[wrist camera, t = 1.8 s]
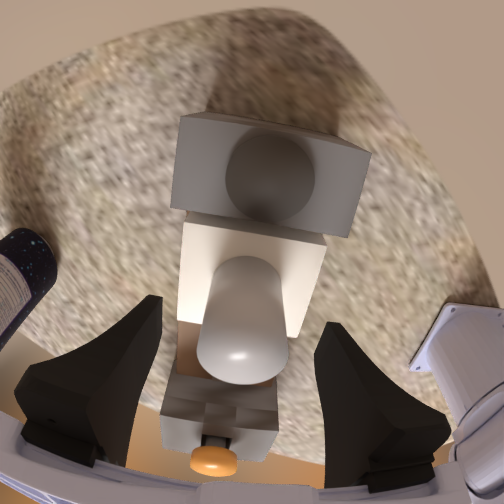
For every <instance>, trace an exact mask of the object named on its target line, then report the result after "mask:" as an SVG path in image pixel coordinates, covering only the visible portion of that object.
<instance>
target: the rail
mask: <svg viewBox="0 0 504 504" xmlns="http://www.w3.org/2000/svg"><path fill="white" fill-rule="evenodd" d="M371 155H372V153H370V152H368V151H366V150H364V149H362V148H360V147H358V146H356V145H354V144H352V143H350V142H348V141H346V140H344V139H342V138H339V137H337V136H333V135H329V134H325V133H320V132H316V131H312V130H307V129H303V128H298V127H294V126H289V125H284V124H279V123H274V122H268V121H263V120H257V119H252V118H246V117H239V116H233V115H226V114H219V113H212V112H199V113H194V114H189V115H184V116H181V118H180V125H179V132H178V140H177V148H176V156H175V165H174V174H173V183H172V194H171V205H170V208H175V209H182V210H187V215H186V218H187V216H188V214H189V212H190V211H195V212H201V213H207V214H213V215H220V216H226V217H232V218H238V219H244V220H250V221H256V222H261V223H267V224H273V225H279V226H284V227H290V228H296V229H301V230H307V231H312V232H317V233H323V234H328V235H333V236H339V237H344V238H348V235H349V232H350V229H351V226H352V222H353V219H354V216H355V212H356V209H357V206H358V202H359V199H360V195H361V192H362V188H363V185H364V181H365V177H366V174H367V170H368V166H369V162H370V159H371ZM201 326H202V324H197V323H192V322H186V321H180V320H178V341H177V360H174V362H173V366H172V369H171V373H170V377H169V380H168V384H167V388H166V392H165V396H164V400H163V403H162V407H161V411H160V426H161V436H162V447H163V448H164V449H169V450H173V451H179V452H184V453H190V454H192V451H193V449H195V448H197V447H201V446H205V445H206V437H207V435H212V436H219V437H226V445H225V448H226V449H229V450H231V451H233V452H234V453H235V454H236V455H237V460H244V461H256V462H263V461H264V459H265V457H266V455H267V453H268V452H269V450H270V448H271V446H272V444H273V442H274V440H275V438H276V436H277V434H278V432H279V423H278V402H277V383H276V376H274V377H273V378H271V379H269V380H266V381H264V382H260V383H256V384H234V383H229V382H225V381H222V380H220V379H218V378H216V377H214V376H212V375H211V374H210V373H208V372H207V371H206V370H205V369H204V368H203V367H202V365H201V364H200V362H199V360H198V357H197V345H198V340H199V335H200V331H201ZM287 340H288V337H287Z"/></svg>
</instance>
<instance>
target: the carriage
mask: <svg viewBox="0 0 504 504" xmlns="http://www.w3.org/2000/svg"><path fill="white" fill-rule="evenodd" d="M326 249H327V245H326V242H325V240H324V238H323V236H322V233H317V232H312V231H307V230H301V229H296V228H290V227H284V226H279V225H273V224H267V223H261V222H256V221H250V220H244V219H238V218H232V217H226V216H220V215H213V214H207V213H201V212H195V211H190V212H189V214H188V216H187V218H186V219H185V221H184V227H183V238H182V249H181V262H180V275H179V291H178V308H177V320H180V321H186V322H192V323H197V324H202V326H201V331H200V335H199V340H198V345H197V357H198V360H199V362H200V364H201V365H202V367H203V368H204V369H205V370H206V371H207V372H208V373H210V374H211V375H212V376H214V377H216V378H218V379H220V380H222V381H225V382H229V383H234V384H256V383H260V382H264V381H266V380H269V379H271V378H273V377H274V376H276V375H277V374H278V373H280V372H281V371H282V369H283V368H284V367H285V365H286V363H287V361H288V357H289V350H288V341H287V337H294V338H297V337H298V334H299V331H300V329H301V326H302V323H303V320H304V317H305V314H306V311H307V308H308V305H309V302H310V299H311V296H312V293H313V290H314V287H315V284H316V281H317V278H318V275H319V272H320V268H321V265H322V262H323V259H324V255H325V252H326Z"/></svg>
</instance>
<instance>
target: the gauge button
mask: <svg viewBox="0 0 504 504" xmlns="http://www.w3.org/2000/svg"><path fill="white" fill-rule="evenodd" d="M225 445H226V437H219V436H212V435H207V437H206V445H205V446H201V447H197V448H195V449H193V451H192V454H191V461H190V467H191V468H192V469H193V470H194V471H197V472H198V473H201V474H205V475H209V476H228V475H232V474H234V473H235V472H236V471H237V455H236V454H235V453H234V452H233V451H231V450H229V449H226V448H225Z"/></svg>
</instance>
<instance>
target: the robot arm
mask: <svg viewBox="0 0 504 504" xmlns="http://www.w3.org/2000/svg"><path fill="white" fill-rule="evenodd" d="M162 302H163V297H160V296H155V295H148V296H146V297H145V298H144V299H143V300H142V301H141V302H140V303H139V304H138V305H137V306H136V307H135V308H133V309H132V310H131V311H130V312H129V313H128V314H127V315H126V316H124V317H123V318H122V319H121V320H120V321H118V322H117V323H116V324H115V325H113V326H112V327H111V328H109V329H108V330H107V331H105V332H104V333H103V334H101V335H100V336H98V337H97V338H95V339H93V340H92V341H90V342H89V343H87V344H85V345H83V346H81V347H79V348H77V349H75V350H73V351H71V352H69V353H66V354H64V355H61V356H59V357H56V358H54V359H51V360H47V361H44V362H40V363H37V364H33V365H30V366H29V367H28V369H27V370H26V371H25V373H24V375H23V376H22V378H21V380H20V381H19V383H18V385H17V387H16V388H15V390H14V395H15V397H16V400H17V402H18V404H19V405H20V407H21V409H22V411H23V412H24V414H25V415H26V417H27V421H26V423H25V425H24V424H23V423H21V422H20V421H18V420H17V419H15V418H13V417H11V416H9V415H7V414H5V413H4V412H2V411H0V481H1V482H2V483H4V484H6V485H8V486H9V487H11V488H13V489H15V490H16V491H18V492H20V493H22V494H24V495H26V496H28V497H29V498H31V499H33V500H35V501H37V502H39V503H41V504H504V309H501V308H492V307H484V306H475V305H467V304H459V303H446V304H445V305H444V307H443V309H442V310H441V312H440V314H439V316H438V318H437V320H436V322H435V323H434V325H433V327H432V329H431V330H430V332H429V334H428V336H427V337H426V339H425V341H424V342H423V344H422V346H421V347H420V349H419V351H418V352H417V354H416V356H415V357H414V359H413V360H412V362H411V364H410V365H409V370H410V371H432V373H433V375H434V377H435V379H436V381H437V384H438V386H439V388H440V390H441V392H442V394H443V396H444V398H445V400H446V403H447V405H448V407H449V409H450V411H451V414H452V416H453V418H454V421H455V423H456V425H457V427H458V428H457V429H456V430H455V431H454V432H453V433H452V436H453V438H454V441H455V444H453V446H452V447H451V449H450V452H449V461H448V463H446V464H442V465H439V466H437V467H434V468H433V467H432V464H431V463H432V462H433V461H434V460H435V459H434V456H433V453H434V452H435V451H436V450H437V449H438V448H439V447H441V446H442V445H443V444H444V443H445V442H446V440H447V439H448V438H449V436H450V434H451V427H450V425H449V423H448V420H447V418H446V416H445V414H443V413H441V412H439V411H437V410H435V409H433V408H431V407H429V406H427V405H425V404H424V403H422V402H420V401H419V400H417V399H416V398H414V397H413V396H411V395H410V394H408V393H407V392H405V391H404V390H403V389H401V388H400V387H399V386H398V385H396V384H395V383H394V382H393V381H392V380H391V379H389V378H388V377H387V376H386V375H385V374H384V373H383V372H382V371H381V370H380V369H379V368H378V367H377V366H376V365H375V364H374V363H373V362H372V361H371V360H370V359H369V357H368V356H367V355H366V354H365V353H364V352H363V350H362V349H361V348H360V347H359V346H358V344H357V343H356V342H355V341H354V339H353V338H352V337H351V336H350V334H349V333H348V332H347V331H346V330H345V328H344V327H343V326H342V325H341V324H340V323H336V322H327V323H326V326H325V328H324V331H323V333H322V336H321V338H320V341H319V343H318V345H317V348H316V350H315V353H314V367H315V376H316V382H317V387H318V392H319V397H320V402H321V407H322V412H323V419H324V431H325V483H324V489H315V488H313V487H311V486H309V485H296V484H292V485H290V484H289V485H288V484H287V485H286V484H282V485H281V484H257V483H256V484H255V483H242V482H231V481H213V482H206V483H196V482H189V481H183V480H178V479H172V478H167V477H162V476H157V475H152V474H148V473H144V472H140V471H136V470H131V469H128V468H125V465H126V459H127V452H128V447H129V442H130V436H131V432H132V427H133V422H134V418H135V413H136V409H137V406H138V401H139V398H140V395H141V392H142V389H143V386H144V384H145V381H146V379H147V376H148V374H149V371H150V369H151V366H152V364H153V361H154V358H155V356H156V353H157V350H158V347H159V343H160V339H161V335H162ZM452 308H453V309H452Z"/></svg>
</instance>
